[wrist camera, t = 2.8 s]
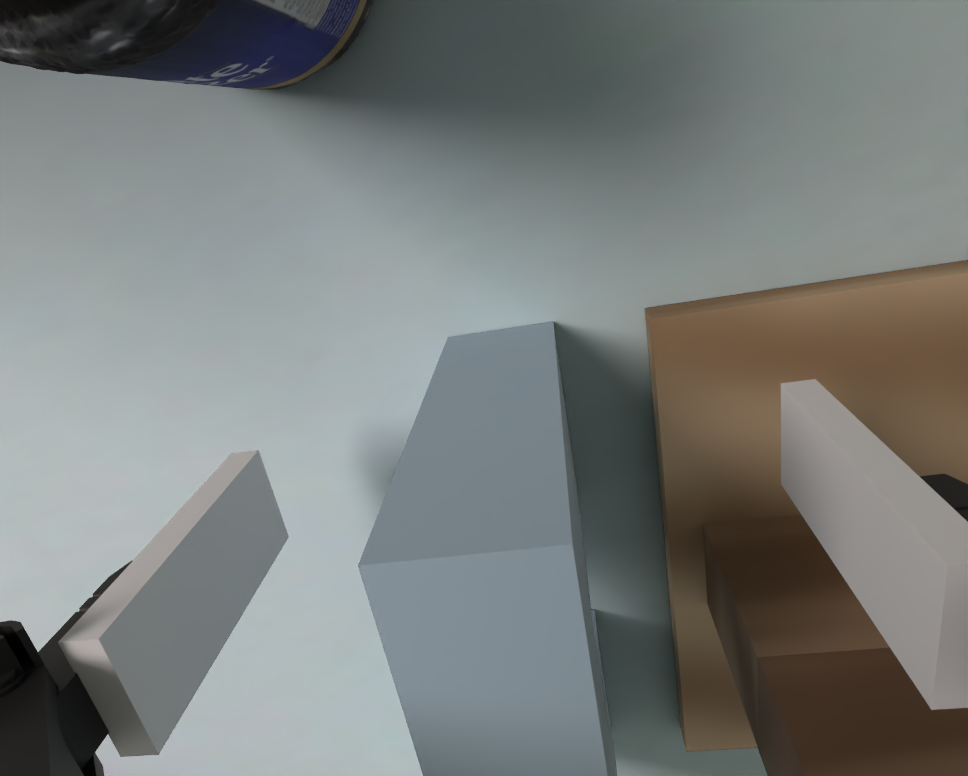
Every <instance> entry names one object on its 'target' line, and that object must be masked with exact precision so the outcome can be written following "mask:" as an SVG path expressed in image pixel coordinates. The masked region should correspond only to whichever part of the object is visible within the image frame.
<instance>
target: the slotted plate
mask: <svg viewBox="0 0 968 776" xmlns="http://www.w3.org/2000/svg"><path fill="white" fill-rule="evenodd" d="M358 567H359V571H360V574H361V577H362V580H363V583H364V587H365V590H366V593H367V596H368V600H369V603H370V606H371V609H372V612H373V616H374V619H375V622H376V625H377V628H378V632H379V635H380V638H381V641H382V645H383V648H384V651H385V654H386V657H387V661H388V664H389V667H390V670H391V673H392V677H393V680H394V683H395V686H396V690H397V693H398V696H399V699H400V702H401V706H402V709H403V712H404V715H405V718H406V722H407V725H408V728H409V731H410V735H411V738H412V741H413V744H414V747H415V751H416V754H417V757H418V760H419V763H420V767H421V770H422V773H423V776H617V770H616V762H615V754H614V745H613V737H612V729H611V722H610V715H609V708H608V701H607V694H606V687H605V680H604V673H603V666H602V659H601V652H600V645H599V638H598V631H597V624H596V617H595V610H591V606H590V597H589V588H588V579H587V570H586V561H585V552H584V543H583V534H582V526H581V517H580V508H579V499H578V491H577V484H576V477H575V470H574V463H573V456H572V449H571V442H570V435H569V428H568V421H567V414H566V407H565V400H564V393H563V386H562V379H561V372H560V365H559V358H558V351H557V344H556V337H555V330H554V323H553V322H547V323H541V324H534V325H527V326H520V327H514V328H507V329H500V330H494V331H487V332H480V333H473V334H467V335H460V336H453V337H448V338H447V341H446V343H445V346H444V348H443V351H442V353H441V356H440V359H439V361H438V364H437V366H436V369H435V371H434V374H433V376H432V379H431V381H430V384H429V387H428V389H427V392H426V394H425V397H424V399H423V402H422V404H421V407H420V409H419V412H418V415H417V417H416V420H415V422H414V425H413V427H412V430H411V432H410V435H409V437H408V440H407V443H406V445H405V448H404V450H403V453H402V455H401V458H400V460H399V463H398V465H397V468H396V470H395V473H394V476H393V478H392V481H391V483H390V486H389V488H388V491H387V493H386V496H385V498H384V501H383V504H382V506H381V509H380V511H379V514H378V516H377V519H376V521H375V524H374V526H373V529H372V532H371V534H370V537H369V539H368V542H367V544H366V547H365V549H364V552H363V554H362V557H361V560H360V562H359V565H358Z"/></svg>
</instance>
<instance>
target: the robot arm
mask: <svg viewBox="0 0 968 776" xmlns="http://www.w3.org/2000/svg"><path fill="white" fill-rule="evenodd" d="M781 485H782V486H783V488H784V489H785V491H786V492H787V494H788V495H789V497H790V498H791V500H792V501H793V503H794V504H795V506H796V507H797V509H798V510H799V512H800V513H801V515H802V516H803V518H804V519H805V521H806V522H807V524H808V525H809V527H810V528H811V530H812V531H813V533H814V534H815V536H816V537H817V539H818V540H819V542H820V543H821V545H822V546H823V548H824V549H825V551H826V552H827V554H828V555H829V557H830V558H831V560H832V561H833V563H834V564H835V566H836V567H837V569H838V570H839V572H840V573H841V575H842V576H843V578H844V579H845V581H846V582H847V584H848V585H849V587H850V588H851V590H852V591H853V593H854V594H855V596H856V597H857V599H858V600H859V602H860V603H861V605H862V606H863V608H864V609H865V611H866V612H867V614H868V615H869V617H870V618H871V620H872V621H873V623H874V624H875V626H876V627H877V629H878V630H879V632H880V633H881V635H882V636H883V638H884V639H885V641H886V642H887V644H888V645H889V647H890V648H891V650H892V651H893V653H894V654H895V656H896V657H897V659H898V660H899V662H900V663H901V665H902V666H903V668H904V669H905V671H906V672H907V674H908V675H909V677H910V678H911V680H912V681H913V683H914V684H915V686H916V687H917V689H918V690H919V692H920V693H921V695H922V696H923V698H924V699H925V701H926V702H927V704H928V705H929V707H930V708H931V710H937V709H954V708H968V484H967V483H964V482H962V481H960V480H958V479H956V478H953V477H951V476H949V475H947V474H936V475H927V476H918V475H917V474H916V473H915V472H914V471H913V470H912V469H911V468H910V467H909V466H908V465H906V464H905V463H904V462H903V461H902V460H901V459H900V458H899V457H898V456H897V455H896V454H895V453H894V452H893V451H892V450H890V449H889V448H888V447H887V446H886V445H885V444H884V443H883V442H882V441H881V440H880V439H879V438H878V437H877V436H876V435H874V434H873V433H872V432H871V431H870V430H869V429H868V428H867V427H866V426H865V425H864V424H863V423H862V422H861V421H860V420H858V419H857V418H856V417H855V416H854V415H853V414H852V413H851V412H850V411H849V410H848V409H847V408H846V407H845V406H844V405H842V404H841V403H840V402H839V401H838V400H837V399H836V398H835V397H834V396H833V395H832V394H831V393H830V392H829V391H827V390H826V389H825V388H824V387H823V386H822V385H821V384H820V383H819V382H818V381H817V380H816V379H811V380H803V381H795V382H787V383H781ZM288 537H289V536H288V533H287V530H286V528H285V525H284V522H283V519H282V516H281V513H280V510H279V508H278V505H277V502H276V499H275V496H274V493H273V490H272V488H271V485H270V482H269V479H268V476H267V473H266V470H265V468H264V465H263V462H262V459H261V456H260V453H259V450H255V451H248V452H240V453H232V454H231V455H230V456H229V457H228V458H227V459H226V460H225V461H224V462H223V463H222V464H221V465H220V467H219V468H218V469H217V470H216V471H215V472H214V473H213V474H212V475H211V476H210V477H209V479H208V480H207V481H206V482H205V483H204V484H203V485H202V486H201V487H200V488H199V489H198V490H197V492H196V493H195V494H194V495H193V496H192V497H191V498H190V499H189V500H188V501H187V502H186V504H185V505H184V506H183V507H182V508H181V509H180V510H179V511H178V512H177V513H176V514H175V516H174V517H173V518H172V519H171V520H170V521H169V522H168V523H167V524H166V525H165V526H164V528H163V529H162V530H161V531H160V532H159V533H158V534H157V535H156V536H155V537H154V538H153V539H152V541H151V542H150V543H149V544H148V545H147V546H146V547H145V548H144V549H143V550H142V551H141V553H140V554H139V555H138V556H137V557H136V558H135V559H134V560H133V561H131V562H129V563H128V564H126V565H125V566H124V567H122V568H121V569H119V570H118V571H117V572H115V573H114V574H112V575H111V576H110V577H108V578H107V580H106V581H105V582H104V583H103V584H102V585H101V586H100V587H99V588H98V589H97V590H96V591H95V592H94V593H93V597H92V598H89V599H88V600H87V601H86V602H85V603H84V604H83V605H82V606H81V607H80V608H79V609H80V611H79V612H76V613H75V614H74V615H73V616H72V617H71V618H70V619H69V620H68V621H67V622H66V623H65V624H64V625H63V626H62V628H61V629H60V630H59V631H58V632H57V633H56V634H55V635H54V636H53V637H52V638H51V639H50V640H49V641H48V642H47V643H46V645H45V646H44V647H43V648H42V649H41V650H40V651H39V652H37V650H36V648H35V647H34V645H33V643H32V641H31V640H30V638H29V636H28V634H27V633H26V631H25V629H24V627H23V626H22V624H21V622H17V621H5V622H0V776H104V771H103V766H102V764H101V762H100V760H99V759H98V757H97V755H96V753H95V751H96V750H97V749H98V747H99V746H100V744H101V743H102V741H103V740H104V739H105V737H106V736H107V734H109V736H110V738H111V740H112V742H113V744H114V745H115V747H116V749H117V751H118V753H119V754H120V756H121V757H125V756H142V755H159V753H160V751H161V750H162V748H163V746H164V745H165V743H166V741H167V740H168V738H169V736H170V734H171V733H172V731H173V729H174V728H175V726H176V724H177V723H178V721H179V719H180V718H181V716H182V714H183V713H184V711H185V709H186V708H187V706H188V704H189V703H190V701H191V699H192V698H193V696H194V694H195V693H196V691H197V689H198V688H199V686H200V684H201V683H202V681H203V679H204V678H205V676H206V674H207V673H208V671H209V669H210V668H211V666H212V664H213V663H214V661H215V659H216V658H217V656H218V654H219V653H220V651H221V649H222V648H223V646H224V644H225V643H226V641H227V639H228V637H229V636H230V634H231V632H232V631H233V629H234V627H235V626H236V624H237V622H238V621H239V619H240V617H241V616H242V614H243V612H244V611H245V609H246V607H247V606H248V604H249V602H250V601H251V599H252V597H253V596H254V594H255V592H256V591H257V589H258V587H259V586H260V584H261V582H262V581H263V579H264V577H265V576H266V574H267V572H268V571H269V569H270V567H271V566H272V564H273V562H274V561H275V559H276V557H277V556H278V554H279V552H280V551H281V549H282V547H283V545H284V544H285V542H286V540H287V539H288Z"/></svg>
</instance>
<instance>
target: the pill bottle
mask: <svg viewBox="0 0 968 776" xmlns="http://www.w3.org/2000/svg"><path fill="white" fill-rule="evenodd" d="M372 1H373V0H0V61H2V62H6V63H10V64H17V65H24V66H30V67H33V68H36V69H41V70H53V71H58V72H69V73H74V74H84V73H85V74H95V75H105V76H116V77H127V78H137V79H146V80H155V81H169V82H178V83H185V84H201V85H212V86H222V87H234V88H246V89H281V88H285V87H288V86H291V85H295V84H297V83H299V82H300V81H302V80H304V79H306V78H307V77H309V76H310V75H311V74H312V73H314V72H316V71H318V70H320V69H322V68H325V67H327V66H329V65H331V64H332V63H334V62H335V61H337V60H338V59H339V58H340V57H341V56H342V55H343V54H344V53H345V51H346V50H347V49H348V48H349V46H350V45H351V43H352V42H353V41H354V40H355V38H356V37H357V36H358V34H359V32H360V30H361V27H362V26H363V24H364V22H365V21H366V19H367V16H368V13H369V10H370V7H371V5H372Z"/></svg>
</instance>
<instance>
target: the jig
mask: <svg viewBox="0 0 968 776" xmlns="http://www.w3.org/2000/svg"><path fill="white" fill-rule="evenodd" d="M645 315H646V327H647V338H648V350H649V362H650V373H651V385H652V397H653V409H654V420H655V432H656V444H657V456H658V467H659V479H660V491H661V503H662V514H663V526H664V538H665V549H666V561H667V573H668V585H669V596H670V608H671V620H672V632H673V643H674V655H675V667H676V679H677V690H678V702H679V714H680V725H681V730H682V735H683V739H684V743H685V747H686V751H706V750H724V749H742V748H758V749H759V752H760V755H761V758H762V761H763V764H764V767H765V769H766V772H767V775H768V776H968V708H954V709H937V710H931V708H930V707H929V705H928V704H927V702H926V701H925V699H924V698H923V696H922V695H921V693H920V692H919V690H918V689H917V687H916V686H915V684H914V683H913V681H912V680H911V678H910V677H909V675H908V674H907V672H906V671H905V669H904V668H903V666H902V665H901V663H900V662H899V660H898V659H897V657H896V656H895V654H894V653H893V651H892V650H891V648H890V647H889V645H888V644H887V642H886V641H885V639H884V638H883V636H882V635H881V633H880V632H879V630H878V629H877V627H876V626H875V624H874V623H873V621H872V620H871V618H870V617H869V615H868V614H867V612H866V611H865V609H864V608H863V606H862V605H861V603H860V602H859V600H858V599H857V597H856V596H855V594H854V593H853V591H852V590H851V588H850V587H849V585H848V584H847V582H846V581H845V579H844V578H843V576H842V575H841V573H840V572H839V570H838V569H837V567H836V566H835V564H834V563H833V561H832V560H831V558H830V557H829V555H828V554H827V552H826V551H825V549H824V548H823V546H822V545H821V543H820V542H819V540H818V539H817V537H816V536H815V534H814V533H813V531H812V530H811V528H810V527H809V525H808V524H807V522H806V521H805V519H804V518H803V516H802V515H801V513H800V512H799V510H798V509H797V507H796V506H795V504H794V503H793V501H792V500H791V498H790V497H789V495H788V494H787V492H786V491H785V489H784V488H783V486H782V485H781V383H787V382H795V381H803V380H811V379H816V380H817V381H818V382H819V383H820V384H821V385H822V386H823V387H824V388H825V389H826V390H827V391H829V392H830V393H831V394H832V395H833V396H834V397H835V398H836V399H837V400H838V401H839V402H840V403H841V404H842V405H844V406H845V407H846V408H847V409H848V410H849V411H850V412H851V413H852V414H853V415H854V416H855V417H856V418H857V419H858V420H860V421H861V422H862V423H863V424H864V425H865V426H866V427H867V428H868V429H869V430H870V431H871V432H872V433H873V434H874V435H876V436H877V437H878V438H879V439H880V440H881V441H882V442H883V443H884V444H885V445H886V446H887V447H888V448H889V449H890V450H892V451H893V452H894V453H895V454H896V455H897V456H898V457H899V458H900V459H901V460H902V461H903V462H904V463H905V464H906V465H908V466H909V467H910V468H911V469H912V470H913V471H914V472H915V473H916V474H917V475H918V476H927V475H936V474H947V475H949V476H951V477H953V478H956V479H958V480H960V481H962V482H964V483H967V484H968V260H966V261H959V262H952V263H945V264H939V265H932V266H925V267H919V268H912V269H905V270H898V271H892V272H885V273H878V274H871V275H865V276H858V277H851V278H845V279H838V280H831V281H824V282H818V283H811V284H804V285H797V286H791V287H784V288H777V289H770V290H764V291H757V292H750V293H744V294H737V295H730V296H723V297H717V298H710V299H703V300H696V301H690V302H683V303H676V304H669V305H663V306H656V307H649V308H645Z"/></svg>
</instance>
